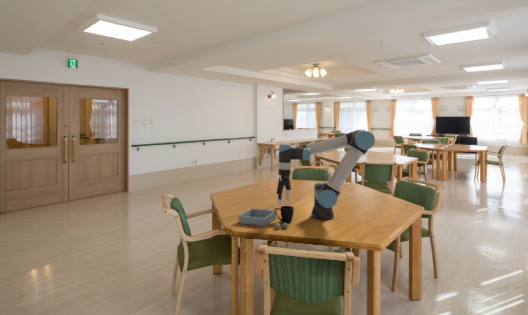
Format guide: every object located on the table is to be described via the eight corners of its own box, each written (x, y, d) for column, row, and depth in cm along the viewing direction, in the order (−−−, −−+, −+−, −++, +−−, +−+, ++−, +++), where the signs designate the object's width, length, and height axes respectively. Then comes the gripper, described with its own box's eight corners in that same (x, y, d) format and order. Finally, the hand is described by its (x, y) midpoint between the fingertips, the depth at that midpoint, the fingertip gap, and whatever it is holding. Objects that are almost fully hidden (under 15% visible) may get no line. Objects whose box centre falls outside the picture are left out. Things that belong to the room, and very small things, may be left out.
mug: (274, 219, 213) (274, 205, 212) (293, 220, 212) (293, 205, 211) (274, 223, 205) (274, 208, 204) (293, 224, 204) (293, 209, 203)
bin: (276, 218, 216) (276, 211, 215) (264, 227, 198) (264, 219, 197) (251, 215, 222) (251, 208, 222) (238, 223, 204) (238, 215, 204)
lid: (271, 210, 235) (271, 207, 235) (269, 216, 222) (269, 212, 221) (258, 210, 237) (258, 207, 236) (254, 215, 223) (254, 212, 223)
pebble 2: (288, 227, 196) (288, 222, 196) (286, 229, 194) (287, 224, 193) (283, 227, 198) (283, 222, 197) (281, 228, 195) (281, 223, 194)
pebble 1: (281, 228, 196) (281, 222, 195) (279, 229, 193) (279, 224, 192) (275, 227, 197) (275, 221, 197) (273, 229, 194) (273, 223, 194)
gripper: (285, 166, 218) (284, 197, 220) (271, 170, 195) (271, 205, 197) (296, 167, 215) (295, 198, 217) (283, 171, 192) (282, 207, 194)
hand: (283, 202), depth 207 cm, fingers open, 13 cm apart
